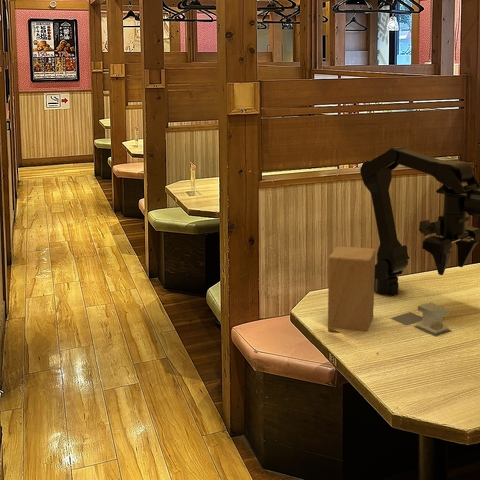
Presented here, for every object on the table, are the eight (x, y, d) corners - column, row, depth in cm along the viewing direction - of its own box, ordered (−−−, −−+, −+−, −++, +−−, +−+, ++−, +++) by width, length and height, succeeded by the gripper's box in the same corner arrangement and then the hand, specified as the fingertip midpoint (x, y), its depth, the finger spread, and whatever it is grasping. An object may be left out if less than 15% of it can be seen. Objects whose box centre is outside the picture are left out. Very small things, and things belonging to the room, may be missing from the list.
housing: (429, 322, 168) (430, 302, 166) (448, 330, 163) (449, 309, 162) (416, 326, 166) (417, 306, 164) (435, 334, 161) (436, 313, 159)
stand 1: (389, 323, 172) (390, 318, 171) (410, 317, 175) (410, 312, 175) (406, 331, 167) (406, 325, 167) (426, 324, 171) (427, 318, 170)
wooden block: (373, 321, 173) (375, 248, 168) (367, 337, 164) (369, 259, 159) (335, 317, 176) (336, 245, 171) (327, 332, 167) (328, 256, 162)
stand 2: (412, 332, 166) (413, 326, 166) (429, 326, 169) (429, 321, 169) (435, 342, 160) (435, 336, 160) (451, 336, 163) (452, 330, 163)
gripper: (447, 201, 180) (443, 256, 184) (405, 213, 168) (403, 271, 173) (485, 208, 172) (480, 265, 176) (444, 220, 160) (440, 282, 164)
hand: (450, 270), depth 172 cm, fingers open, 9 cm apart
